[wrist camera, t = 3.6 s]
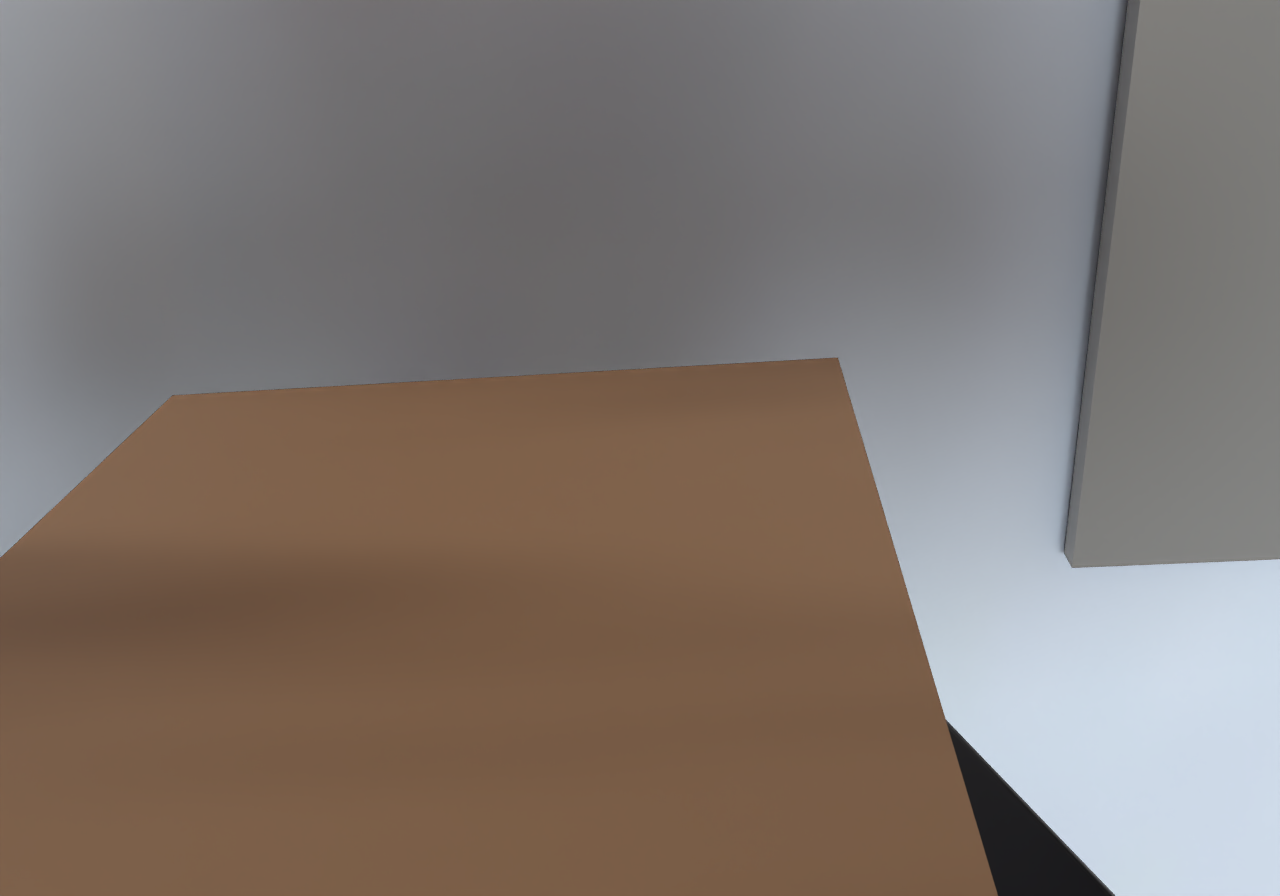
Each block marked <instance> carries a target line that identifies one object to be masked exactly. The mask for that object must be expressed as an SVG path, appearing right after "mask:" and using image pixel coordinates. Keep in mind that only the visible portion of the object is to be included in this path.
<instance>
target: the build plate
mask: <svg viewBox="0 0 1280 896" xmlns="http://www.w3.org/2000/svg"><path fill="white" fill-rule="evenodd" d="M1064 554H1065V556H1066V558H1067V560H1068V562H1069V563H1070V565H1071V567H1072V568H1080V567H1104V566H1128V565H1152V564H1176V563H1200V562H1224V561H1248V560H1272V559H1280V0H1128V5H1127V14H1126V22H1125V31H1124V40H1123V48H1122V57H1121V66H1120V74H1119V83H1118V92H1117V100H1116V109H1115V118H1114V126H1113V135H1112V144H1111V152H1110V161H1109V170H1108V178H1107V187H1106V196H1105V204H1104V213H1103V222H1102V230H1101V239H1100V248H1099V256H1098V265H1097V274H1096V282H1095V291H1094V300H1093V308H1092V317H1091V326H1090V334H1089V343H1088V352H1087V360H1086V369H1085V378H1084V386H1083V395H1082V404H1081V412H1080V421H1079V430H1078V438H1077V447H1076V456H1075V464H1074V473H1073V482H1072V490H1071V499H1070V508H1069V516H1068V525H1067V533H1066V542H1065V551H1064Z"/></svg>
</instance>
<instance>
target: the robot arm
mask: <svg viewBox="0 0 1280 896" xmlns="http://www.w3.org/2000/svg"><path fill="white" fill-rule="evenodd" d="M946 723H947V726H948V730H949V733H950V736H951V740H952V743H953V746H954V750H955V753H956V756H957V760H958V763H959V767H960V770H961V773H962V777H963V780H964V783H965V787H966V790H967V793H968V797H969V800H970V803H971V807H972V810H973V814H974V817H975V820H976V824H977V827H978V830H979V834H980V837H981V840H982V844H983V847H984V851H985V854H986V857H987V861H988V864H989V867H990V871H991V874H992V877H993V881H994V884H995V887H996V891H997V894H998V896H1115V895H1114V894H1113V893H1112V892H1111V891H1110V890H1109V889H1108V887H1107V886H1106V885H1105V884H1104V883H1103V882H1102V881H1101V880H1100V879H1099V878H1098V877H1097V876H1096V875H1095V874H1094V873H1093V872H1092V871H1091V870H1090V869H1089V868H1088V867H1087V866H1086V865H1085V864H1084V863H1083V862H1082V860H1081V859H1080V858H1079V857H1078V856H1077V855H1076V854H1075V853H1074V852H1073V851H1072V850H1071V849H1070V848H1069V847H1068V846H1067V845H1066V844H1065V843H1064V842H1063V841H1062V840H1061V839H1060V838H1059V837H1058V836H1057V835H1056V834H1055V832H1054V831H1053V830H1052V829H1051V828H1050V827H1049V826H1048V825H1047V824H1046V823H1045V822H1044V821H1043V820H1042V819H1041V818H1040V817H1039V816H1038V815H1037V814H1036V813H1035V812H1034V811H1033V810H1032V809H1031V808H1030V807H1029V805H1028V804H1027V803H1026V802H1025V801H1024V800H1023V799H1022V798H1021V797H1020V796H1019V795H1018V794H1017V793H1016V792H1015V791H1014V790H1013V789H1012V788H1011V787H1010V786H1009V785H1008V784H1007V783H1006V782H1005V781H1004V780H1003V779H1002V777H1001V776H1000V775H999V774H998V773H997V772H996V771H995V770H994V769H993V768H992V767H991V766H990V765H989V764H988V763H987V762H986V761H985V760H984V759H983V758H982V757H981V756H980V755H979V754H978V753H977V752H976V750H975V749H974V748H973V747H972V746H971V745H970V744H969V743H968V742H967V741H966V740H965V739H964V738H963V737H962V736H961V735H960V734H959V733H958V732H957V731H956V730H955V729H954V728H953V727H952V726H951V725H950V724H949V722H948V721H947V720H946Z"/></svg>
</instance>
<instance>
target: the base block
mask: <svg viewBox="0 0 1280 896" xmlns="http://www.w3.org/2000/svg"><path fill="white" fill-rule="evenodd" d="M0 896H998V894H997V891H996V887H995V884H994V881H993V877H992V874H991V871H990V867H989V864H988V861H987V857H986V854H985V851H984V847H983V844H982V840H981V837H980V834H979V830H978V827H977V824H976V820H975V817H974V814H973V810H972V807H971V803H970V800H969V797H968V793H967V790H966V787H965V783H964V780H963V777H962V773H961V770H960V767H959V763H958V760H957V756H956V753H955V750H954V746H953V743H952V740H951V736H950V733H949V730H948V726H947V723H946V719H945V716H944V713H943V709H942V706H941V703H940V699H939V696H938V693H937V689H936V686H935V683H934V679H933V676H932V672H931V669H930V666H929V662H928V659H927V656H926V652H925V649H924V646H923V642H922V639H921V635H920V632H919V629H918V625H917V622H916V619H915V615H914V612H913V609H912V605H911V602H910V599H909V595H908V592H907V588H906V585H905V582H904V578H903V575H902V572H901V568H900V565H899V562H898V558H897V555H896V551H895V548H894V545H893V541H892V538H891V535H890V531H889V528H888V525H887V521H886V518H885V515H884V511H883V508H882V504H881V501H880V498H879V494H878V491H877V488H876V484H875V481H874V478H873V474H872V471H871V467H870V464H869V461H868V457H867V454H866V451H865V447H864V444H863V441H862V437H861V434H860V431H859V427H858V424H857V420H856V417H855V414H854V410H853V407H852V404H851V400H850V397H849V394H848V390H847V387H846V383H845V380H844V377H843V373H842V370H841V367H840V363H839V360H838V358H823V359H805V360H788V361H770V362H753V363H735V364H717V365H700V366H682V367H664V368H647V369H629V370H612V371H594V372H576V373H559V374H541V375H523V376H506V377H488V378H471V379H453V380H435V381H418V382H400V383H382V384H365V385H347V386H330V387H312V388H294V389H277V390H259V391H241V392H224V393H206V394H189V395H172V396H171V397H170V398H169V399H168V400H167V401H166V402H165V403H164V404H163V405H162V406H161V407H160V408H159V409H158V410H157V411H156V412H154V413H153V414H152V415H151V416H150V417H149V418H148V419H147V420H146V421H145V422H144V423H143V424H142V425H141V426H140V427H139V428H138V429H136V430H135V431H134V432H133V433H132V434H131V435H130V436H129V437H128V438H127V439H126V440H125V441H124V442H123V443H122V444H121V445H120V446H118V447H117V448H116V449H115V450H114V451H113V452H112V453H111V454H110V455H109V456H108V457H107V458H106V459H105V460H104V461H103V462H101V463H100V464H99V465H98V466H97V467H96V468H95V469H94V470H93V471H92V472H91V473H90V474H89V475H88V476H87V477H86V478H85V479H83V480H82V481H81V482H80V483H79V484H78V485H77V486H76V487H75V488H74V489H73V490H72V491H71V492H70V493H69V494H68V495H67V496H65V497H64V498H63V499H62V500H61V501H60V502H59V503H58V504H57V505H56V506H55V507H54V508H53V509H52V510H51V511H50V512H49V513H47V514H46V515H45V516H44V517H43V518H42V519H41V520H40V521H39V522H38V523H37V524H36V525H35V526H34V527H33V528H32V529H31V530H29V531H28V532H27V533H26V534H25V535H24V536H23V537H22V538H21V539H20V540H19V541H18V542H17V543H16V544H15V545H14V546H13V547H11V548H10V549H9V550H8V551H7V552H6V553H5V554H4V555H3V556H2V557H1V558H0Z"/></svg>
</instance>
